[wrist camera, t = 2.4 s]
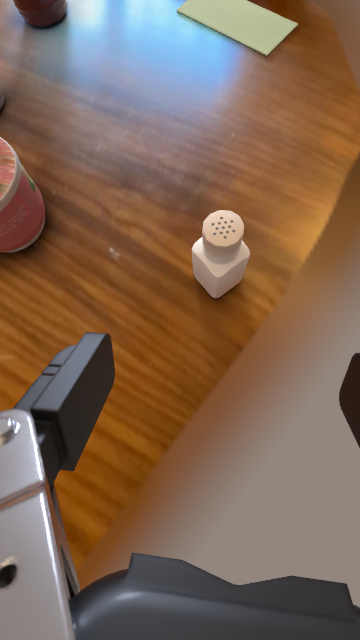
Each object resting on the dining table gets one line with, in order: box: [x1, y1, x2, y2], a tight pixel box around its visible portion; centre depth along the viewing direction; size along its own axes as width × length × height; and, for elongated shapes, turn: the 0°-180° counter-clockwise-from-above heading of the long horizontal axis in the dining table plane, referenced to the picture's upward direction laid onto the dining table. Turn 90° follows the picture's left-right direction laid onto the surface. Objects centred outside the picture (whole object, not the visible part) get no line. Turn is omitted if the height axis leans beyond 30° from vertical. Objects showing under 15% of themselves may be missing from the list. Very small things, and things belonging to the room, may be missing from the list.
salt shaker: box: [192, 210, 250, 299], centre depth 27 cm, size 4×4×10 cm
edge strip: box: [177, 0, 298, 56], centre depth 42 cm, size 16×7×1 cm, turn 49°
